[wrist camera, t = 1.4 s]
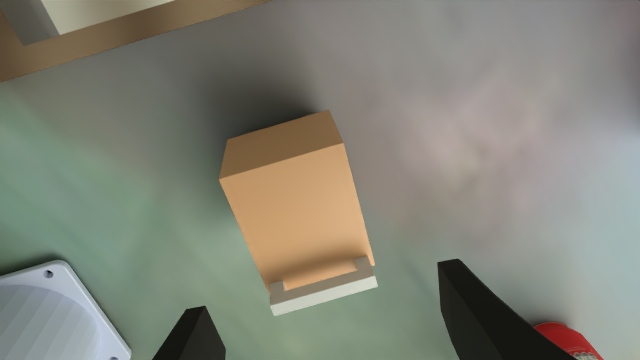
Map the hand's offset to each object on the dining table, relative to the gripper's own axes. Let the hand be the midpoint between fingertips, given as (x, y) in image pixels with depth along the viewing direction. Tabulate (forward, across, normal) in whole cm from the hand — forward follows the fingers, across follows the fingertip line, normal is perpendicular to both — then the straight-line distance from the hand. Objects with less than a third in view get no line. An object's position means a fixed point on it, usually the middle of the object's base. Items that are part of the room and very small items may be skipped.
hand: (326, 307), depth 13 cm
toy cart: (+10, +1, 0) cm, 10 cm away
